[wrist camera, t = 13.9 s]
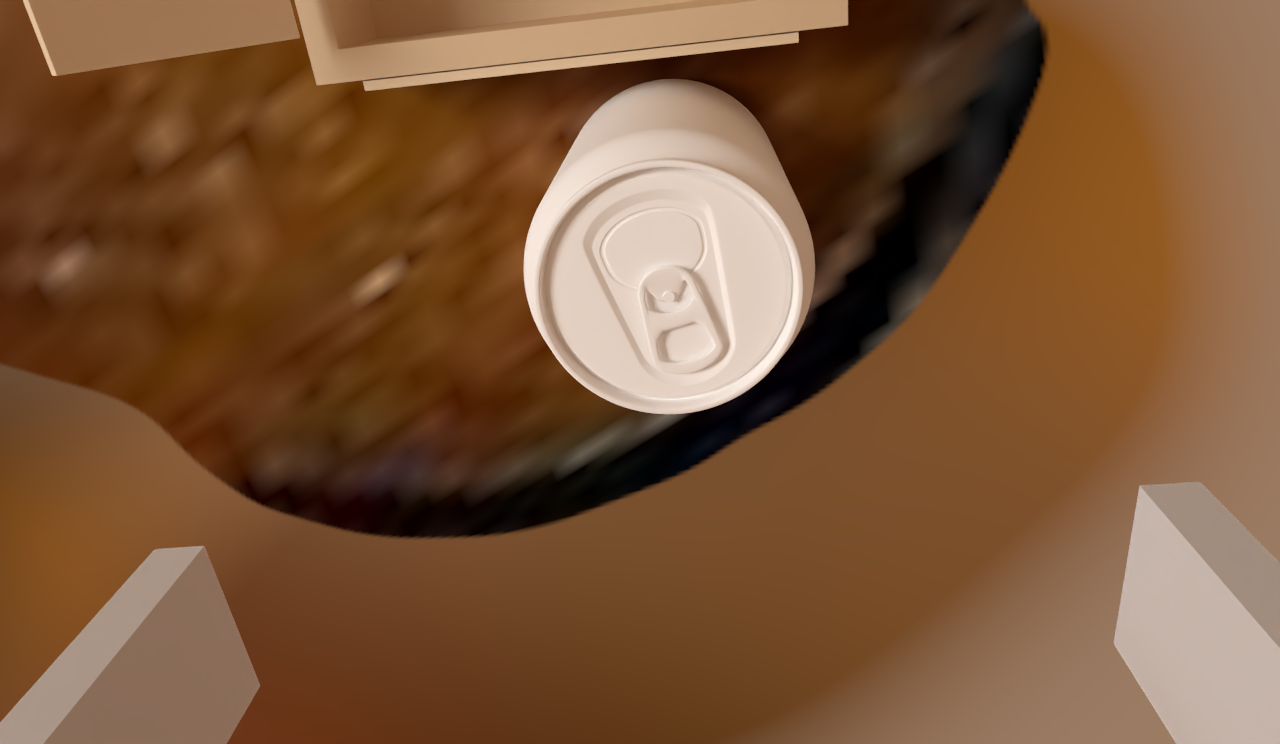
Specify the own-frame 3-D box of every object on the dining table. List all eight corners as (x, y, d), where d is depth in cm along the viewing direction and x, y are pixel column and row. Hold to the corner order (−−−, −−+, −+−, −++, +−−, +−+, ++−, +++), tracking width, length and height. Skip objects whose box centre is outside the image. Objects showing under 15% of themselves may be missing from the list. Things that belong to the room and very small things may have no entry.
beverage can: (745, 45, 31) (779, 94, 20) (799, 250, 34) (852, 387, 24) (537, 116, 33) (466, 197, 22) (607, 306, 36) (576, 460, 25)
